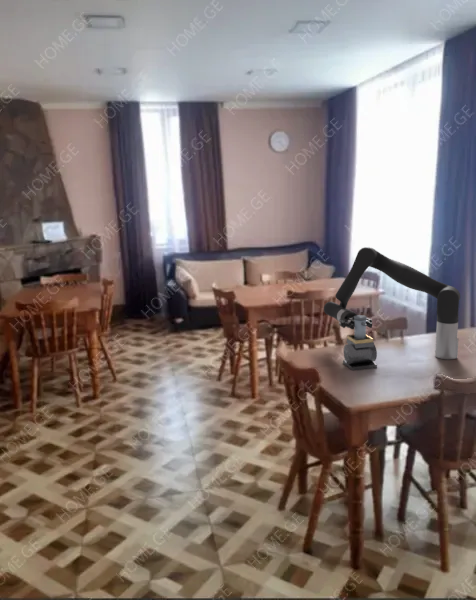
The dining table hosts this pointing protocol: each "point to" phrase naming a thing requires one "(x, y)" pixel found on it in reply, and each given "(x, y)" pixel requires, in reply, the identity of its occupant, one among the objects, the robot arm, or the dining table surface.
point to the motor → (360, 353)
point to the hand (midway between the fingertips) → (362, 326)
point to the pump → (360, 327)
